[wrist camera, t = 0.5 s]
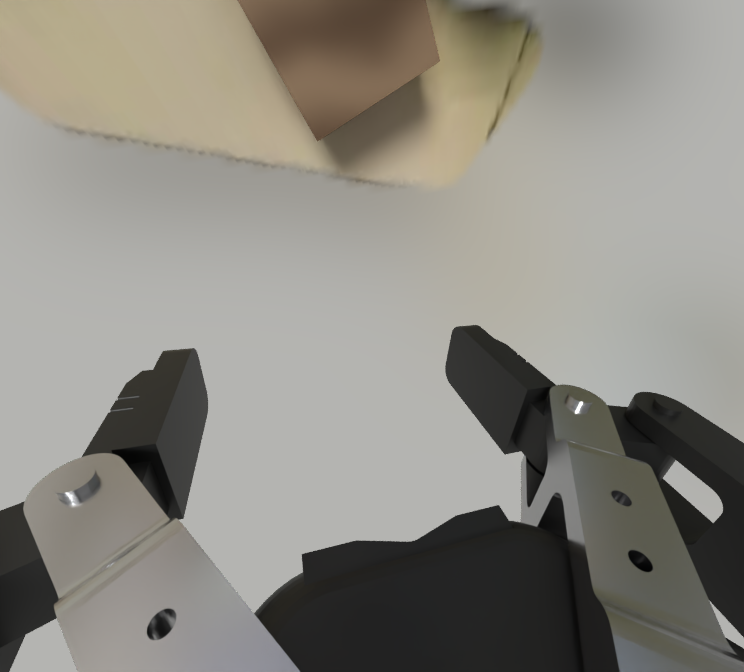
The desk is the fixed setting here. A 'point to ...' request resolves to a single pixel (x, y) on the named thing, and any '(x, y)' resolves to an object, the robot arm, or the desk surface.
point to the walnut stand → (343, 52)
